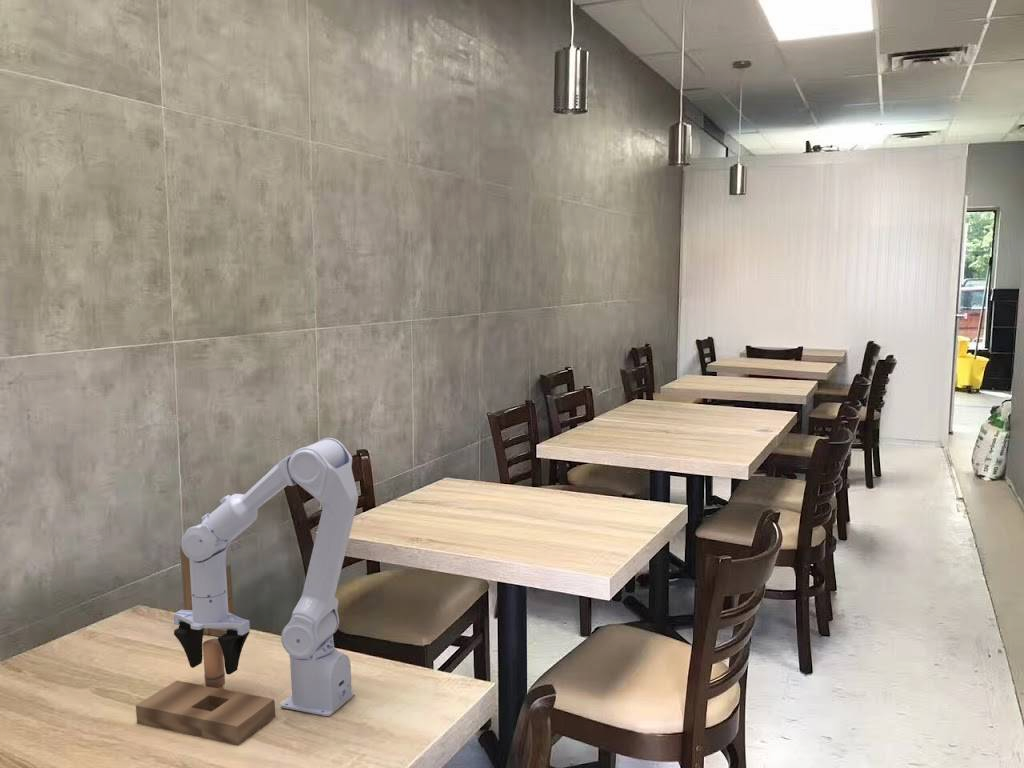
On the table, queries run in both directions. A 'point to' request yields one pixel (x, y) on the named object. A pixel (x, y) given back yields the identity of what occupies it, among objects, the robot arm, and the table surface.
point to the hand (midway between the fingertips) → (213, 668)
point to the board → (206, 712)
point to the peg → (213, 664)
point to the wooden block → (188, 596)
